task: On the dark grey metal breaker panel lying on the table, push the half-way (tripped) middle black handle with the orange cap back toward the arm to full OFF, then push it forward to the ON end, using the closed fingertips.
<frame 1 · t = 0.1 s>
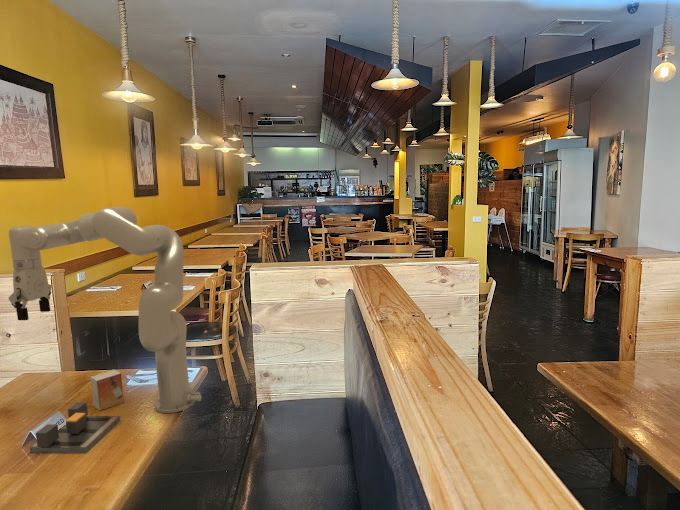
hand: (34, 315, 144), 31 cm above the table, fingers open, 9 cm apart
breaker 1: (47, 435, 122), point 4 cm above the table, slide at 8.0 cm
panel: (78, 435, 129), on the table
breaker 2: (77, 411, 135), point 4 cm above the table, slide at 8.0 cm
small box: (109, 404, 148), on the table
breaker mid: (76, 423, 128), point 4 cm above the table, slide at 4.0 cm
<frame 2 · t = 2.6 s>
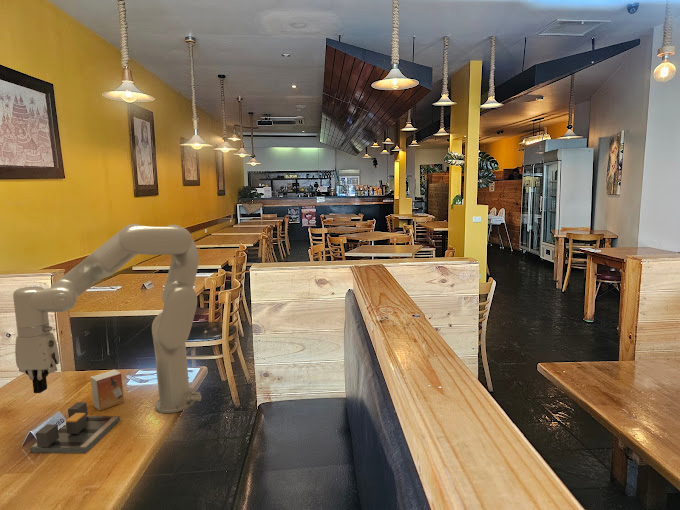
hand: (40, 391, 127), 14 cm above the table, fingers closed
nothing on the table moved.
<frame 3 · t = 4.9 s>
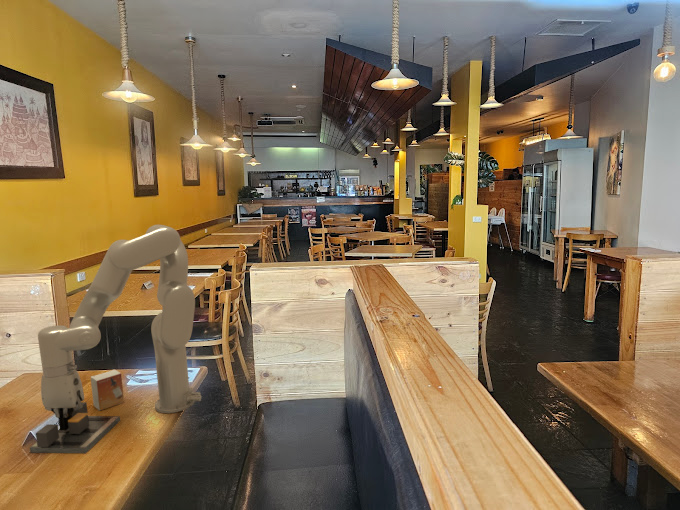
hand: (66, 427, 129), 2 cm above the table, fingers closed
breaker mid: (78, 423, 128), point 4 cm above the table, slide at 3.4 cm, touching gripper
everything else where it was.
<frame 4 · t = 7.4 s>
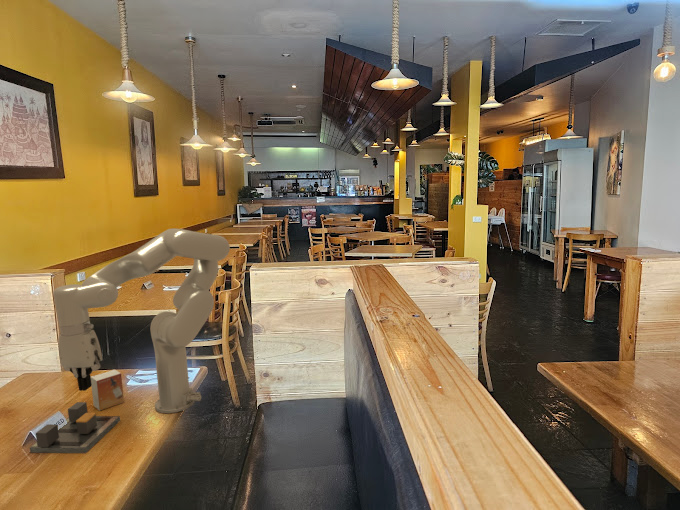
hand: (85, 388, 127), 15 cm above the table, fingers closed
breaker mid: (86, 423, 128), point 4 cm above the table, slide at 0.9 cm
everything else where it was.
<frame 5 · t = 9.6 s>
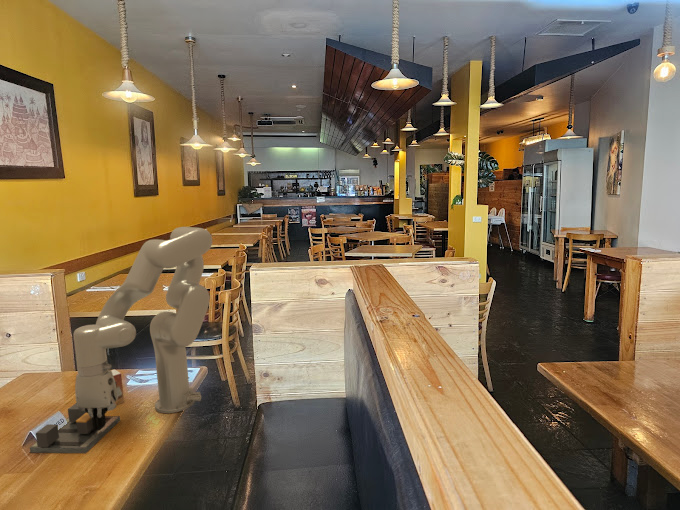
hand: (99, 427, 128), 3 cm above the table, fingers closed
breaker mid: (86, 423, 128), point 4 cm above the table, slide at 0.9 cm, touching gripper
everything else where it was.
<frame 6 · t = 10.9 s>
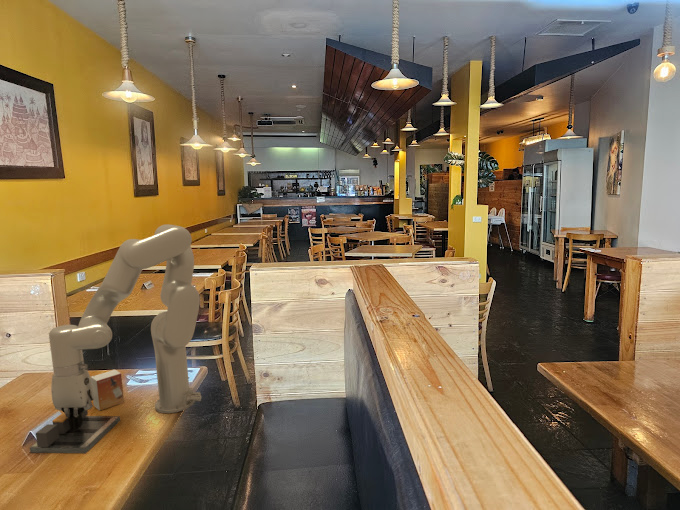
hand: (76, 427, 128), 3 cm above the table, fingers closed
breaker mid: (63, 423, 128), point 4 cm above the table, slide at 8.0 cm, touching gripper
everything else where it was.
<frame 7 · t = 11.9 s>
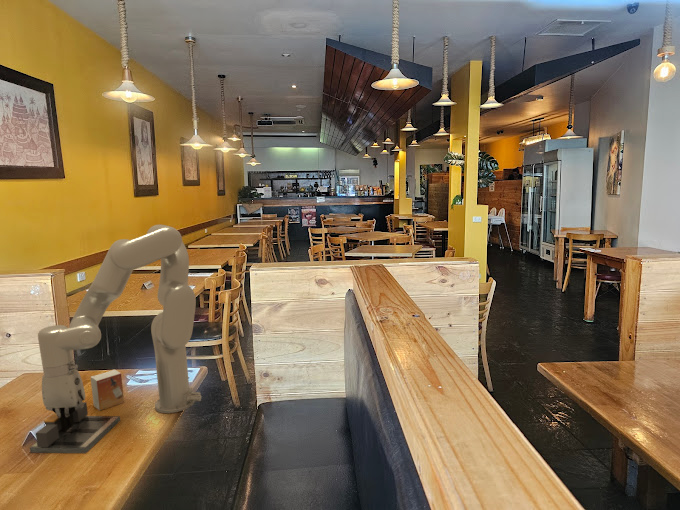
hand: (68, 427, 128), 3 cm above the table, fingers closed
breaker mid: (55, 423, 129), point 4 cm above the table, slide at 10.6 cm, touching gripper
everything else where it was.
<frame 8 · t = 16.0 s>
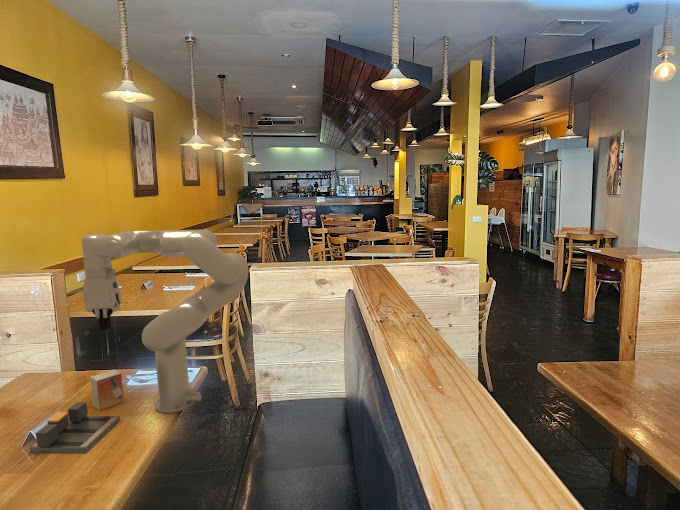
hand: (105, 328, 141), 27 cm above the table, fingers closed
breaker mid: (58, 423, 128), point 4 cm above the table, slide at 9.5 cm
everything else where it was.
at the end: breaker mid slide at 9.5 cm; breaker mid touching nothing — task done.
